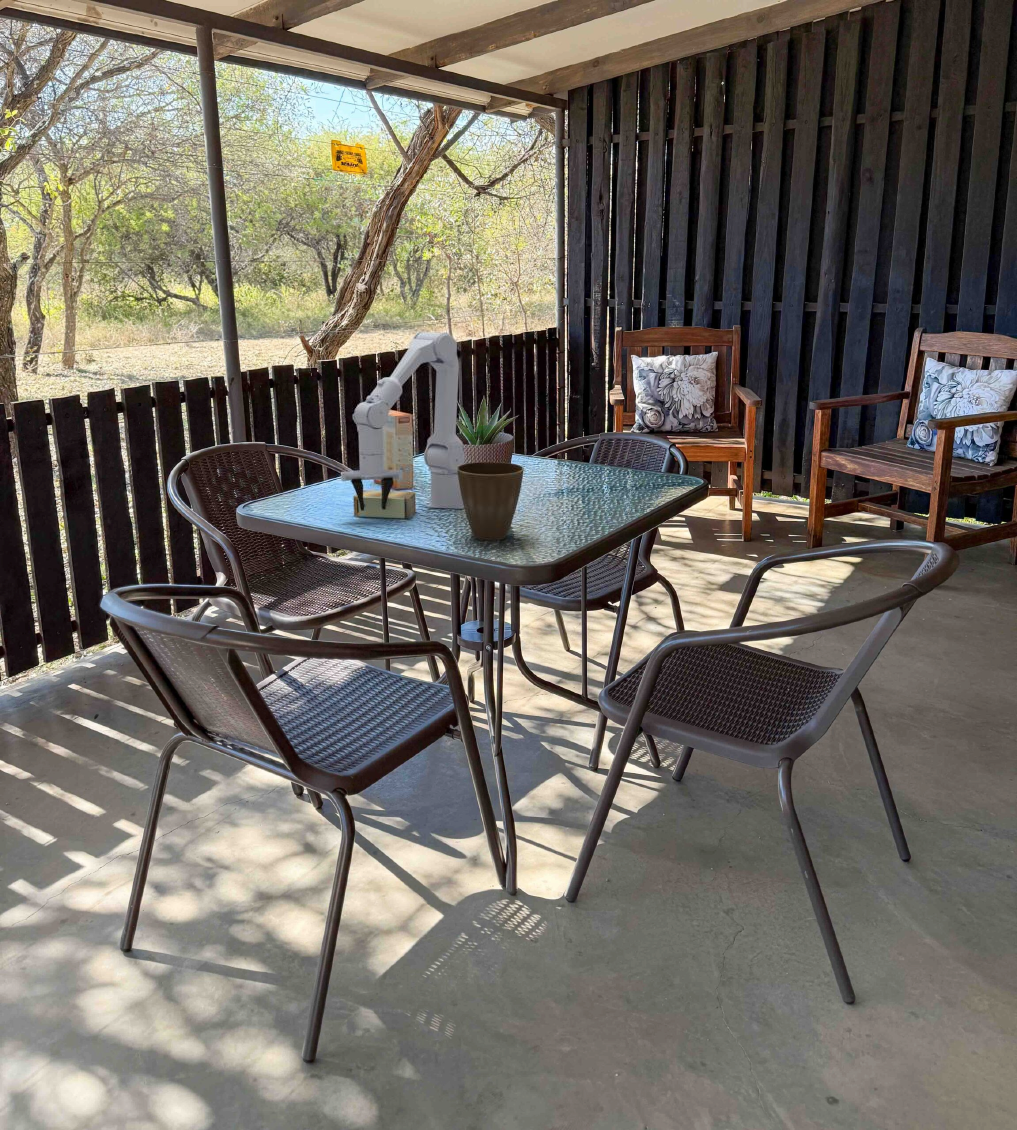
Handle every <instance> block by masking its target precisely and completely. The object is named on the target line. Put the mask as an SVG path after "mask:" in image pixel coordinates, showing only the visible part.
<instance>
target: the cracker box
mask: <svg viewBox="0 0 1017 1130" xmlns="http://www.w3.org/2000/svg"><path fill="white" fill-rule="evenodd" d="M389 411H390V412H389V413H388V420H387V423H386V424H384V426H383V456H384V470H402V471H403V479H393V481H394V483H393V486H392V488H391V489H392V490H396V491H400V490H408V488H410V489H413V488H414V435H413V430H414V428H413V427H414V426H413V423H414V421H413V414H411V413H406V412H402V411H398V410H392V409H390V410H389ZM373 483H376V484H379V485H381V479H376V480H373Z"/></svg>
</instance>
